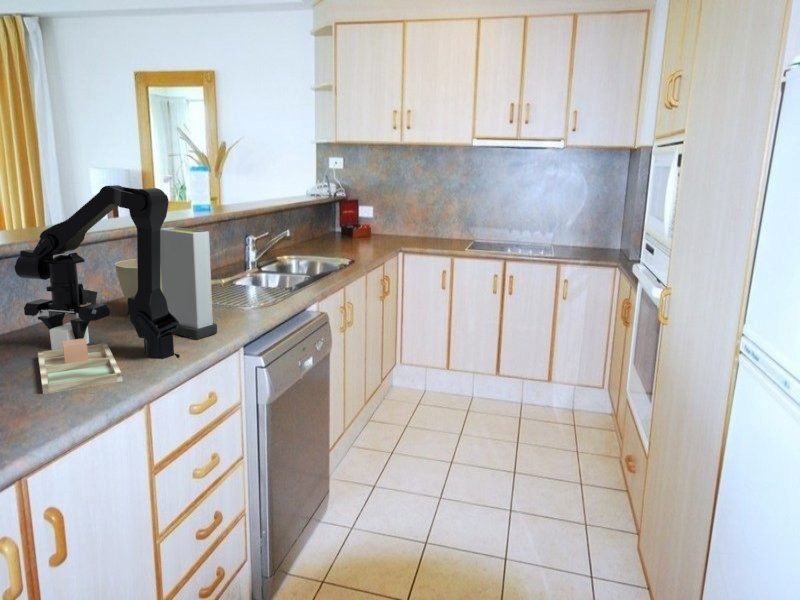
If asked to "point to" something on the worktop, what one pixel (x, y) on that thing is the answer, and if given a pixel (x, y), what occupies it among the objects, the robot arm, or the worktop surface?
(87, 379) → the slot cradle
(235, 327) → the worktop surface
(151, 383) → the worktop surface
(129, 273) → the plant pot
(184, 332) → the container
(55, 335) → the block
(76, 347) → the terracotta block
